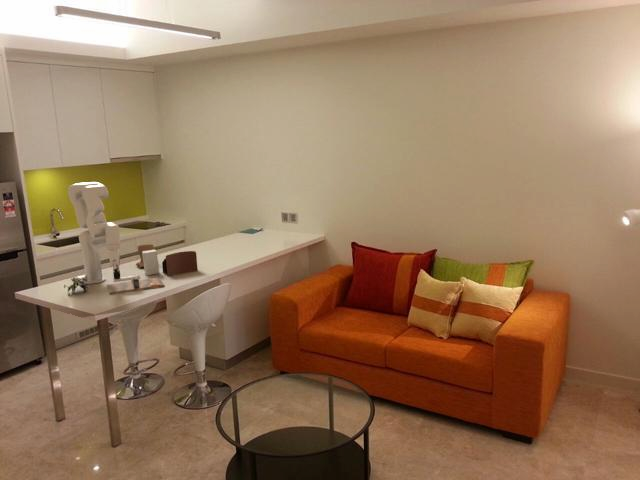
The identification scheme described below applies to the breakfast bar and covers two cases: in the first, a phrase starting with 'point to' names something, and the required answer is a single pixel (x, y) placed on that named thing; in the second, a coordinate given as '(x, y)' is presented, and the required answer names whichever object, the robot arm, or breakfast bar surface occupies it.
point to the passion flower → (78, 282)
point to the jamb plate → (130, 286)
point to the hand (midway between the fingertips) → (117, 277)
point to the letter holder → (180, 263)
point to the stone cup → (140, 249)
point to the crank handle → (127, 278)
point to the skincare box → (150, 262)
